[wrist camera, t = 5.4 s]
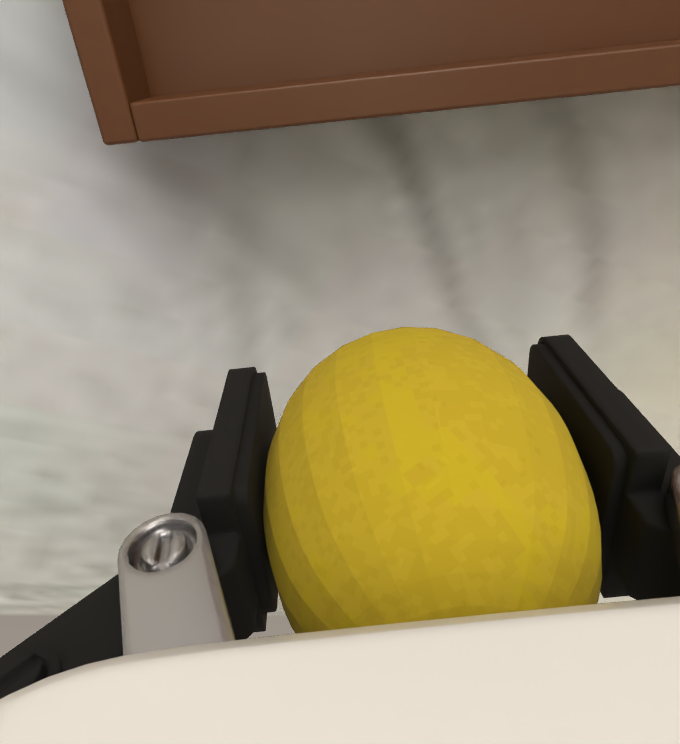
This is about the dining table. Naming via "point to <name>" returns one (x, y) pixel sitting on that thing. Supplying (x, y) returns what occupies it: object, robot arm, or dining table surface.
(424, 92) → the tray
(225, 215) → the dining table surface
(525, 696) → the robot arm
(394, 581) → the lemon
